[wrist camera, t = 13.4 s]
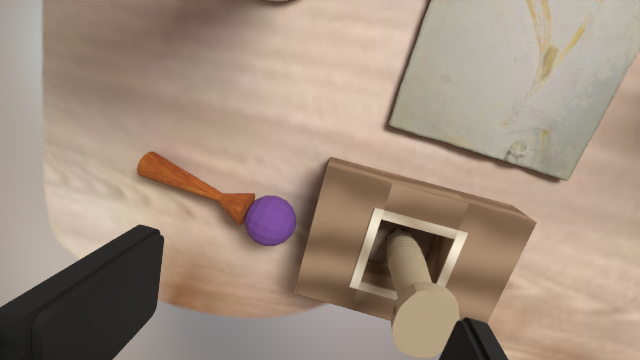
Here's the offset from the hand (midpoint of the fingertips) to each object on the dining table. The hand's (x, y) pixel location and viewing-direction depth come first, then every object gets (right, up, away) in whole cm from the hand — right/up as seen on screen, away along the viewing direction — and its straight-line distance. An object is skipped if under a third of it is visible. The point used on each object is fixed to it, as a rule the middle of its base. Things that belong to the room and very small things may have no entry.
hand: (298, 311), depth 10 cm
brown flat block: (+11, -4, +29) cm, 31 cm away
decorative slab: (+22, +20, +22) cm, 37 cm away
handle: (+11, -3, +29) cm, 31 cm away
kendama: (-11, +3, +31) cm, 33 cm away
